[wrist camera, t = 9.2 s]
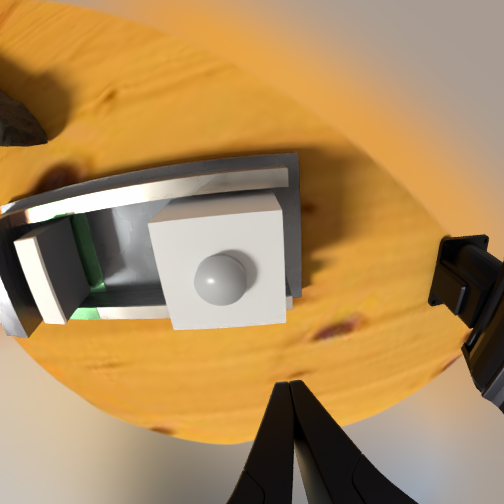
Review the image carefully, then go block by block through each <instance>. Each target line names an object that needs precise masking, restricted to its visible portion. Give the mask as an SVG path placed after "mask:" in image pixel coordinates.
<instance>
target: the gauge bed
mask: <svg viewBox="0 0 504 504" xmlns="http://www.w3.org/2000/svg"><path fill="white" fill-rule="evenodd" d="M264 189H272V191H273V193H274V195H275V197H276V199H277V201H278V203H279V205H280V207H281V209H282V217H283V239H284V264H285V295H286V310H290V309H292V298H299V297H302V257H301V210H300V184H299V163H298V153H296V152H291V153H273V154H258V155H246V156H235V157H225V158H216V159H207V160H199V161H192V162H184V163H177V164H171V165H164V166H158V167H152V168H146V169H141V170H135V171H130V172H125V173H120V174H115V175H110V176H106V177H101V178H97V179H92V180H88V181H84V182H80V183H76V184H72V185H68V186H64V187H60V188H56V189H53V190H49V191H46V192H42V193H39V194H35V195H32V196H29V197H26V198H22V199H19V200H16V201H13V202H10V203H7V204H5V205H3V206H1V212H2V214H1V215H0V322H1V324H2V326H3V328H4V330H5V332H6V334H7V335H9V336H16V337H23V338H29V337H30V335H31V334H32V333H33V332H34V330H35V329H36V328H37V327H38V325H39V324H40V323H41V322H42V321H43V317H42V315H41V313H40V311H39V308H38V306H37V304H36V302H35V299H34V297H33V295H32V292H31V290H30V287H29V285H28V282H27V279H26V277H25V274H24V271H23V269H22V266H21V263H20V260H19V257H18V254H17V251H16V248H15V244H14V241H16V240H17V239H19V238H20V237H22V236H24V235H25V234H27V233H28V232H30V231H32V230H33V229H35V228H36V227H38V226H40V225H41V224H43V223H45V222H46V221H48V220H51V219H56V218H61V217H66V216H69V220H70V224H71V228H72V232H73V236H74V239H75V243H76V247H77V250H78V253H79V257H80V260H81V263H82V266H83V270H84V273H85V276H86V279H87V282H88V285H89V287H90V290H91V292H90V293H89V294H88V295H87V297H86V298H85V299H84V300H83V302H82V303H81V304H80V306H79V307H78V308H77V309H76V311H75V312H74V313H73V315H72V316H71V317H70V319H155V318H170V315H169V311H168V308H167V304H166V300H165V296H164V293H163V289H162V285H161V281H160V277H159V273H158V269H157V264H156V260H155V256H154V251H153V247H152V242H151V238H150V233H149V228H148V223H149V222H150V220H151V219H152V218H153V217H154V216H155V215H156V214H157V213H158V212H159V211H160V210H161V209H162V208H163V207H164V206H165V205H166V204H167V203H168V202H169V201H170V200H172V199H177V198H185V197H193V196H202V195H211V194H220V193H230V192H241V191H252V190H264Z"/></svg>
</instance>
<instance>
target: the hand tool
mask: <svg viewBox="0 0 504 504" xmlns="http://www.w3.org/2000/svg"><path fill="white" fill-rule="evenodd" d="M46 143H48V142H47V137H46V134H45V132H44V131H43V129H42V128H41V126H40V125H39V123H38V122H37V120H36V119H35V118H34V116H33V115H32V114H30V113H29V111H28V110H27V109H26V107H25V106H24V105H23V104H22V103H21V102H19V101H15V100H13V99H11V98H9V97H8V96H7V95H5V94H4V93H3V92H2V91H1V90H0V146H7V147H8V146H27V147H28V146H34V145H41V144H46Z"/></svg>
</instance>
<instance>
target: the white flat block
mask: <svg viewBox="0 0 504 504" xmlns="http://www.w3.org/2000/svg"><path fill="white" fill-rule="evenodd" d="M14 244H15V248H16V251H17V254H18V257H19V260H20V263H21V266H22V269H23V271H24V274H25V277H26V279H27V282H28V285H29V287H30V290H31V292H32V295H33V297H34V299H35V302H36V304H37V306H38V308H39V311H40V313H41V315H42V317H43V319H44V321H45V323H51V324H66V323H67V321H68V320H69V319H70V317H71V316H72V315H73V313H74V312H75V311H76V309H77V308H78V307H79V306H80V304H81V303H82V302H83V300H84V299H85V298H86V297H87V295H88V294H89V293H90V292H91V290H90V287H89V285H88V282H87V279H86V276H85V273H84V270H83V266H82V263H81V260H80V257H79V253H78V250H77V247H76V243H75V239H74V236H73V232H72V228H71V224H70V220H69V216H66V217H61V218H56V219H51V220H48V221H46V222H45V223H43V224H41V225H40V226H38V227H36V228H35V229H33V230H32V231H30V232H28V233H27V234H25V235H24V236H22V237H20V238H19V239H17V240H16V241H14Z"/></svg>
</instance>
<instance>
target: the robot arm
mask: <svg viewBox="0 0 504 504" xmlns="http://www.w3.org/2000/svg"><path fill="white" fill-rule="evenodd" d="M488 241H489V237H488V236H486V235H473V236H463V237H452V238H444V239H442V240H441V242H440V245H439V251H438V257H437V262H436V267H435V272H434V277H433V281H432V286H431V290H430V294H429V298H428V303H429V305H430V306H436V305H441V304H445V305H446V306H447V307H448V309H449V310H450V311H451V312H452V313H453V314H454V315H455V316H456V315H458V317H459V318H460V319H461V320H462V321H463V322H464V323H465V324H466V325H467V327H468V328H469V329H471V328H473V330H472V331H471V333H470V335H469V337H468V339H467V340H466V342H465V343H464V344H463V346H462V347H461V350H462V352H463V355H464V357H465V360H466V363H467V365H468V368H469V371H470V373H471V377H472V379H473V382H474V384H475V386H476V388H477V389H478V390H479V391H480V392H481V393H482V394H481V395H482V397H483V398H485V399H487V400H489V401H491V402H492V403H493V404H495V405H496V406H497V407H498V408H499V409H500V410H501V411H502V412H503V414H504V261H503V262H501V261H500V260H498V259H497V258H496V257H494V256H493V255H491V254H490V253H488V252H487V247H488ZM445 244H446V245H445ZM444 245H445V246H444ZM294 449H295V452H296V457H297V461H298V464H299V468H300V472H301V476H302V480H303V484H304V488H305V492H306V496H307V500H308V504H418V503H417V502H415V501H414V500H413V499H412V498H410V497H409V496H408V495H407V494H405V493H404V492H403V491H401V490H400V489H399V488H398V487H397V486H395V485H394V484H393V483H391V482H390V481H389V480H388V479H387V478H386V477H385V476H384V475H383V474H381V473H380V472H379V471H378V470H377V469H376V468H375V466H374V465H373V464H372V463H371V462H370V461H369V460H368V459H367V458H366V457H365V455H364V454H362V453H361V451H360V450H359V449H358V448H357V446H356V445H355V444H354V443H353V442H352V440H351V439H350V438H349V437H348V436H347V434H346V433H345V432H344V431H343V430H342V429H341V427H340V426H339V425H338V424H337V423H336V421H335V420H334V419H333V418H332V417H331V415H330V414H329V413H328V412H327V410H326V409H325V408H324V407H323V406H322V404H321V403H320V402H319V401H318V399H317V398H316V397H315V396H314V394H313V393H312V392H311V391H310V389H309V388H308V387H307V386H306V384H305V383H304V382H303V381H302V380H294V381H290V382H289V383H288V382H286V381H285V382H276V383H275V385H274V388H273V391H272V394H271V396H270V399H269V402H268V405H267V408H266V411H265V413H264V416H263V419H262V422H261V424H260V427H259V430H258V432H257V435H256V438H255V440H254V443H253V446H252V448H251V451H250V453H249V456H248V458H247V461H246V463H245V466H244V468H243V469H244V470H243V471H242V473H241V475H240V478H239V480H238V482H237V485H236V486H235V489H234V491H233V493H232V495H231V497H230V498H229V500H228V502H227V503H226V504H292V487H293V462H294Z"/></svg>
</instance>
